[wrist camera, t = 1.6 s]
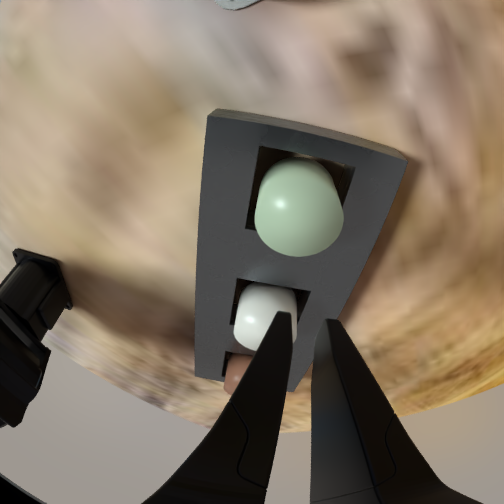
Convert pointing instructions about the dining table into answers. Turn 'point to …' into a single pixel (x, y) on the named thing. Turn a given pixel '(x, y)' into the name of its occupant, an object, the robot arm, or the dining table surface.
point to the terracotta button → (235, 370)
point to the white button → (262, 311)
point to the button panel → (261, 255)
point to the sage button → (298, 208)
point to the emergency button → (234, 3)
